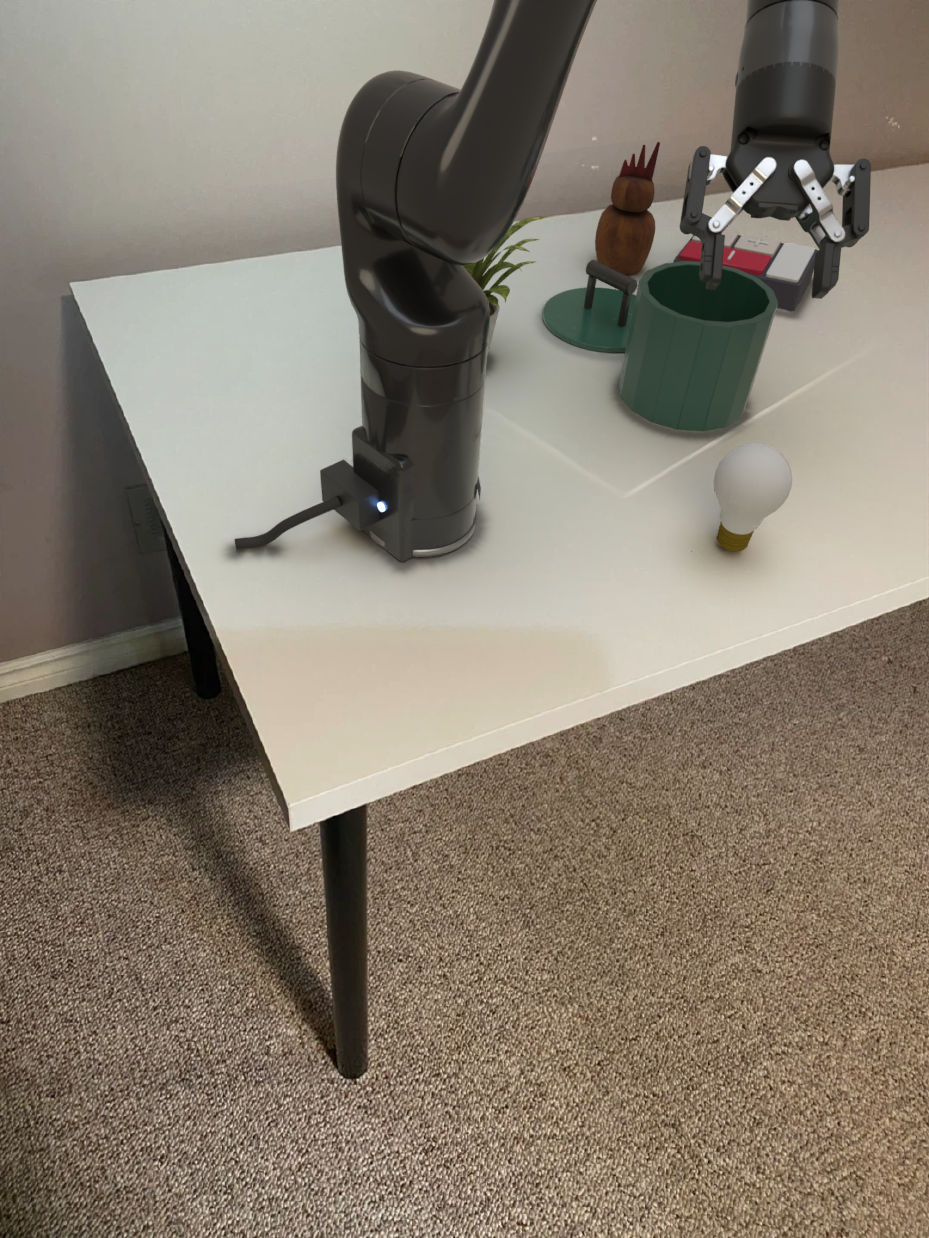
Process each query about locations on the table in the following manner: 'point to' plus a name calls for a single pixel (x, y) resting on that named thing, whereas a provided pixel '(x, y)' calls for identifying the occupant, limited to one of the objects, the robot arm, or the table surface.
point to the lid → (594, 311)
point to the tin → (695, 346)
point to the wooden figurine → (628, 218)
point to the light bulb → (749, 491)
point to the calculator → (764, 263)
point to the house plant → (480, 267)
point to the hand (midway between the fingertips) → (767, 291)
